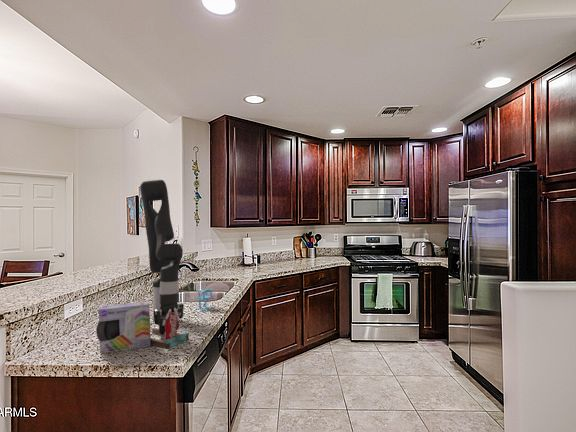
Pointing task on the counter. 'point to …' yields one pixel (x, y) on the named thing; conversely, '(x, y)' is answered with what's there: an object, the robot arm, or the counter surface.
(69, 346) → the counter surface
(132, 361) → the counter surface
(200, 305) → the light blue translucent piece
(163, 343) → the guide channel
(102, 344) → the cake pan box
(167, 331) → the beverage can
